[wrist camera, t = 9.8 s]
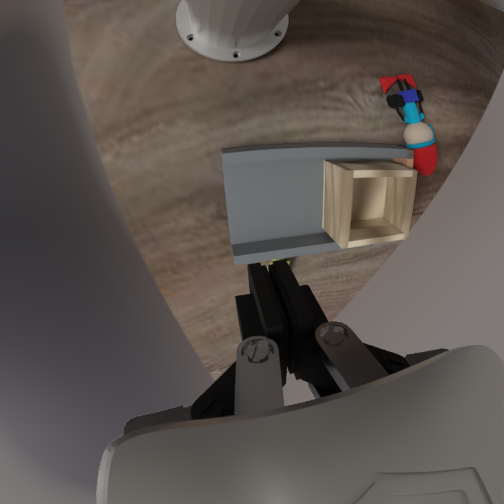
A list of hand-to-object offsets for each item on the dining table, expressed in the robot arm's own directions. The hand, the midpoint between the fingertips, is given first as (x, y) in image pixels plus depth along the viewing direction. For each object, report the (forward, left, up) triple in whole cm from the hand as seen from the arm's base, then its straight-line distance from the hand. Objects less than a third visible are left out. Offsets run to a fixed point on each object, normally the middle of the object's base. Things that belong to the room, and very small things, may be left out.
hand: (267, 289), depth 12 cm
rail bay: (+3, +12, -22) cm, 25 cm away
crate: (+3, +17, -21) cm, 27 cm away
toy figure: (-7, +26, -23) cm, 35 cm away
